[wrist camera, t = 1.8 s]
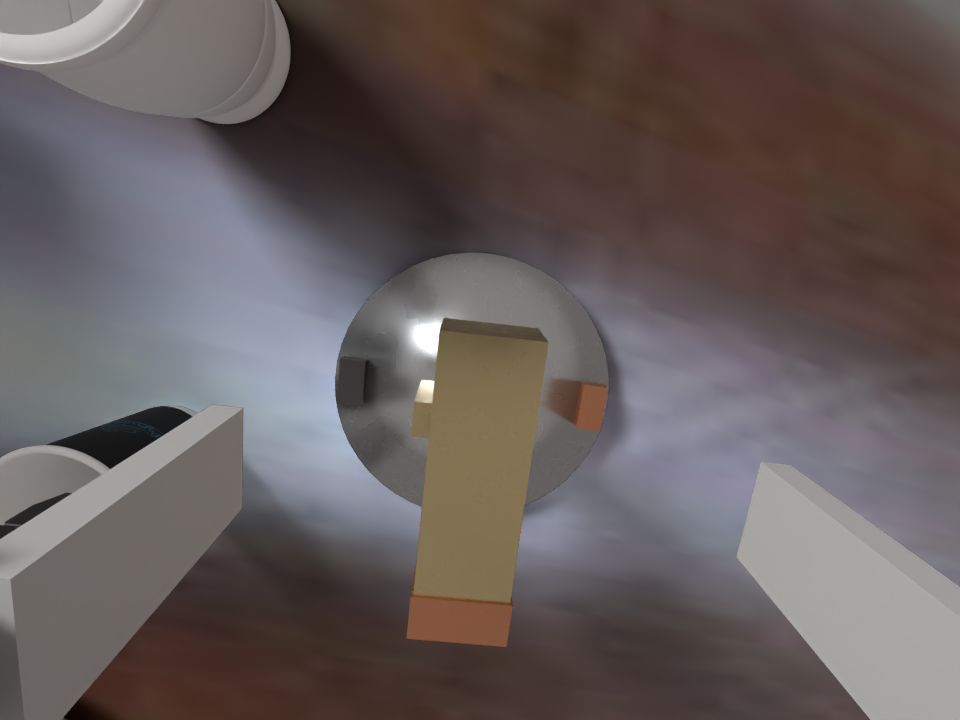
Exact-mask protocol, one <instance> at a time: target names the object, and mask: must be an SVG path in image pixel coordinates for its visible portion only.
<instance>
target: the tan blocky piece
mask: <svg viewBox="0 0 960 720" xmlns="http://www.w3.org/2000/svg"><path fill="white" fill-rule="evenodd" d="M548 343H549V342H548V341H547V339H546V338H545V337H544V335H543V334H542V333H541V331H540V330H539V329H538V328H532V327H523V326H514V325H505V324H496V323H487V322H478V321H469V320H460V319H451V318H443V321H442V324H441V327H440V330H439V339H438V349H437V360H436V370H435V380H434V381H428V380H421V383H420V386H419V389H418V392H417V395H416V397H415V400H414V408H413V419H412V430H411V437H419V438H429V441H428V451H427V462H426V472H425V482H424V492H423V502H422V512H421V523H420V533H419V543H418V553H417V562H416V568H415V574H414V580H413V586H412V592H411V598H410V609H409V619H408V629H407V639H417V640H429V641H441V642H453V643H465V644H477V645H489V646H501V647H507V640H508V634H509V627H510V620H511V614H512V607H513V605H512V596H511V594H512V587H513V581H514V574H515V567H516V560H517V554H518V547H519V540H520V533H521V526H522V520H523V513H524V506H525V499H526V493H527V486H528V479H529V472H530V465H531V459H532V452H533V445H534V438H535V432H536V425H537V418H538V411H539V404H540V398H541V391H542V384H543V377H544V371H545V364H546V357H547V350H548Z"/></svg>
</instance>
